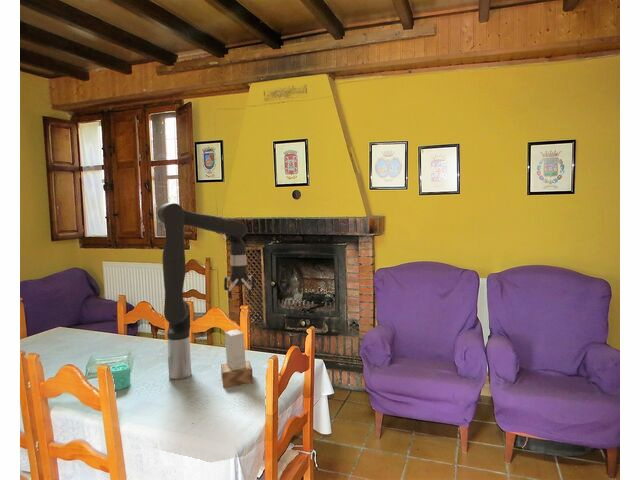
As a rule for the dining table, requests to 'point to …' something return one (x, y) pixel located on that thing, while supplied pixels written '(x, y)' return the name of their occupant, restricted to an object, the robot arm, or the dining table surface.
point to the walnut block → (236, 375)
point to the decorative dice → (121, 376)
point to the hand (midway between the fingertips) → (239, 297)
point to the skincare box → (235, 349)
